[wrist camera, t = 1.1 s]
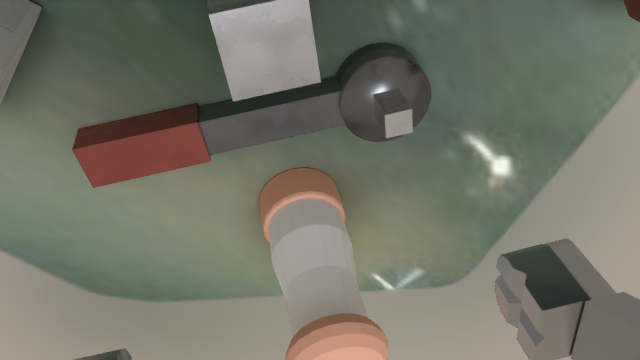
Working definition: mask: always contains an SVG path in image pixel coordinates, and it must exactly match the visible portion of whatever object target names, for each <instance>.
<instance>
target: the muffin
mask: <svg viewBox="0 0 640 360" xmlns="http://www.w3.org/2000/svg"><path fill="white" fill-rule="evenodd" d="M624 3H625V6H626V9H627V12H628V14H629V16H630V17H632V18H633V19H635V20H637V21H639V22H640V0H624Z"/></svg>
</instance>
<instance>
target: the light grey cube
mask: <svg viewBox="0 0 640 360" xmlns="http://www.w3.org/2000/svg"><path fill="white" fill-rule="evenodd" d="M208 13H209V18H210V21H211V25H212V28H213V32H214V36H215V39H216V43H217V46H218V50H219V53H220V57H221V60H222V64H223V67H224V71H225V75H226V78H227V82H228V85H229V89H230V92H231V96H232V99H233V101H238V100H242V99H247V98H251V97H256V96H261V95H265V94H270V93H274V92H279V91H283V90H288V89H292V88H297V87H302V86H306V85H311V84H315V83H320V82H321V79H320V72H319V66H318V59H317V53H316V46H315V40H314V33H313V27H312V20H311V13H310V7H309V0H208Z"/></svg>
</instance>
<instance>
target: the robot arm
mask: <svg viewBox="0 0 640 360" xmlns="http://www.w3.org/2000/svg"><path fill="white" fill-rule="evenodd" d="M497 269H498V270H499V272H500V273H501V275H500V276H499V277H498V279H497V280H496V281H495V294H496V298H497V303H498V306H499V308H500V310H501V313H502V314H503V316H504V318H505V320H506V321H507V322H508V323H510V324H511V325H513V326H515V327H517V328H518V334H517V340H518V342H519V343H520V345H521V347H522V349H523V350H524V352H525V354H526V355H527V357H528V359H529V360H555V359H560V358H564V357H568V356H571V359H573V360H640V300H639V299H637V298H635V297H633V296H631V295H629V294H627V293H624V292H621V293H616V292H615V291H614V290H613V289H612V288H611V286H610V285H609V284H608V283H607V282H606V280H605V279H604V278H603V277H602V276H601V275H600V274H599V272H598V271H597V270H596V269H595V268H594V267H593V265H592V264H591V263H590V262H589V261H588V259H587V258H586V257H585V256H584V255H583V254H582V253H581V251H580V250H579V249H578V248H577V247H576V245H575V244H574V243H573V242H572V241H570V240H569V239H563V240H559V241H555V242H550V243H546V244H540V245H536V246H533V247H529V248H525V249H521V250H517V251H514V252H510V253H506V254H502V255H500V256H499V258H498V260H497ZM74 360H132V357H131V356H130V354H129V353H128V351H127V350H126V349H120V350H116V351H111V352H106V353H102V354H97V355H93V356H88V357H84V358H79V359H74Z"/></svg>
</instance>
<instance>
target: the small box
mask: <svg viewBox="0 0 640 360" xmlns="http://www.w3.org/2000/svg"><path fill="white" fill-rule="evenodd" d="M41 10H42V7H41V6H39V5H37V4H35V3H33V2H31V1H29V0H0V105H1V103H2V101H3V99H4V96H5V94H6V91H7V89H8V87H9V84H10V82H11V79H12V77H13V75H14V72H15V70H16V68H17V65H18V63H19V61H20V58H21V56H22V54H23V51H24V49H25V47H26V45H27V42H28V40H29V38H30V35H31V33H32V30H33V28H34V26H35V23H36V21H37V19H38V17H39V14H40V12H41Z"/></svg>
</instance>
